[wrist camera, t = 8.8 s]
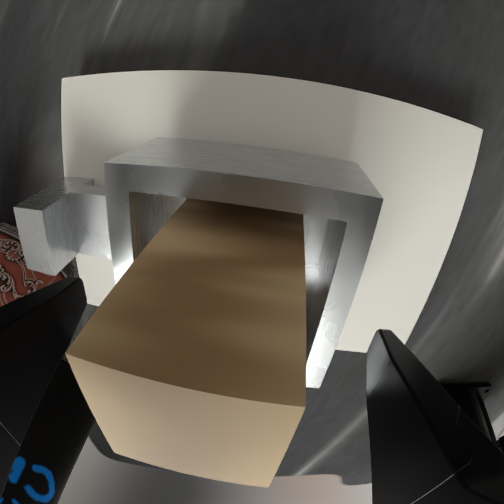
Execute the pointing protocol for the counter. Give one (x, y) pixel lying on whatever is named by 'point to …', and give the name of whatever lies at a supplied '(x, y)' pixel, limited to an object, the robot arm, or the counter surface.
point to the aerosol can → (50, 443)
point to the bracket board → (299, 140)
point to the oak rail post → (203, 345)
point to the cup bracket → (219, 190)
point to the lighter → (20, 269)
